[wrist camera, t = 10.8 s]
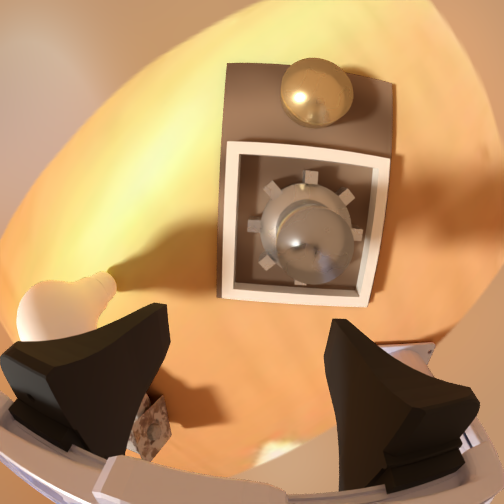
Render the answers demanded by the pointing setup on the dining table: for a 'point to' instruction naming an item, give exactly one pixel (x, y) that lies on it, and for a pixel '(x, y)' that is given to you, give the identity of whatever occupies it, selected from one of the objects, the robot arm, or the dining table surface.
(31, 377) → the robot arm
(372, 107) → the carrier board
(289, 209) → the planet gear
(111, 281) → the lightbulb
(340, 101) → the golden brown dome
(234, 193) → the carrier pocket
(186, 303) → the dining table surface
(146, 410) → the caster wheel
